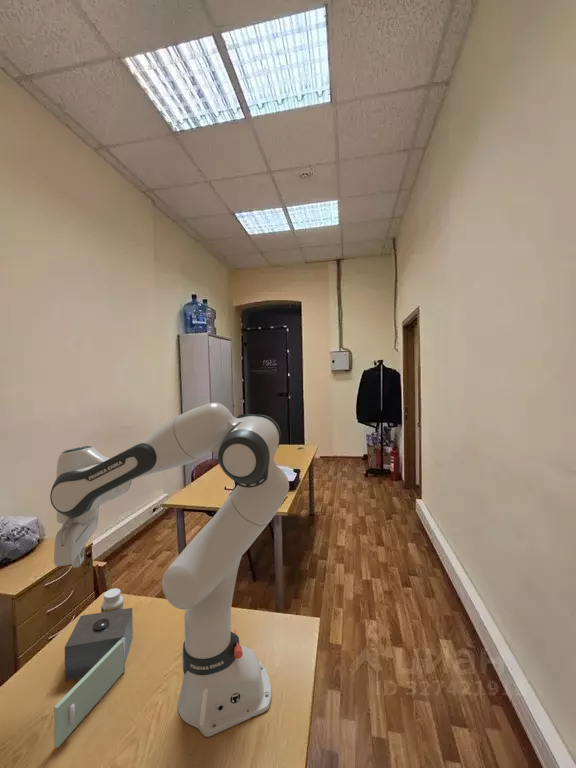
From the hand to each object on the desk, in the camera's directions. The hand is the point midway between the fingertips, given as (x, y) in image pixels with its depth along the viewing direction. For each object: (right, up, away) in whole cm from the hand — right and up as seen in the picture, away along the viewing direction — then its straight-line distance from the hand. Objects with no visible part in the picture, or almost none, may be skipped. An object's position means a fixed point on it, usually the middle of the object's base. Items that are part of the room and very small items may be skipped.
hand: (78, 564), depth 86 cm
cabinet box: (+1, -31, +9) cm, 32 cm away
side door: (+8, -31, -5) cm, 32 cm away
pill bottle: (-2, -31, +20) cm, 37 cm away
